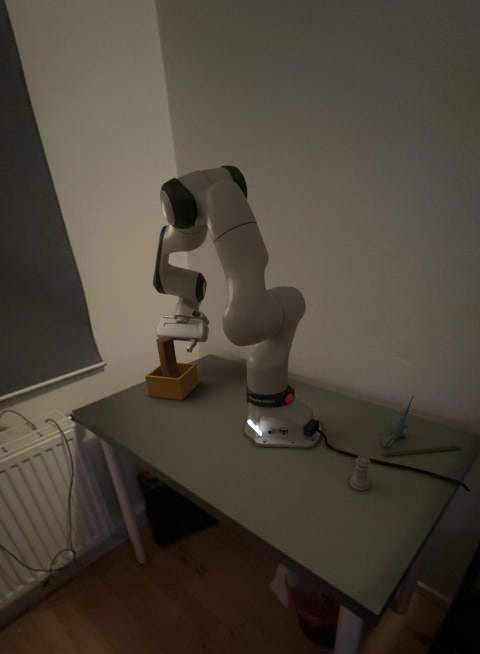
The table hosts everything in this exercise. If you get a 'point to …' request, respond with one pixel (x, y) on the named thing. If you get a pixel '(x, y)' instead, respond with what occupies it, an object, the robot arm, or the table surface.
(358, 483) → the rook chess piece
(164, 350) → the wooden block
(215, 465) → the table surface
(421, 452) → the rod
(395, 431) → the dinosaur figurine
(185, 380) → the bin
